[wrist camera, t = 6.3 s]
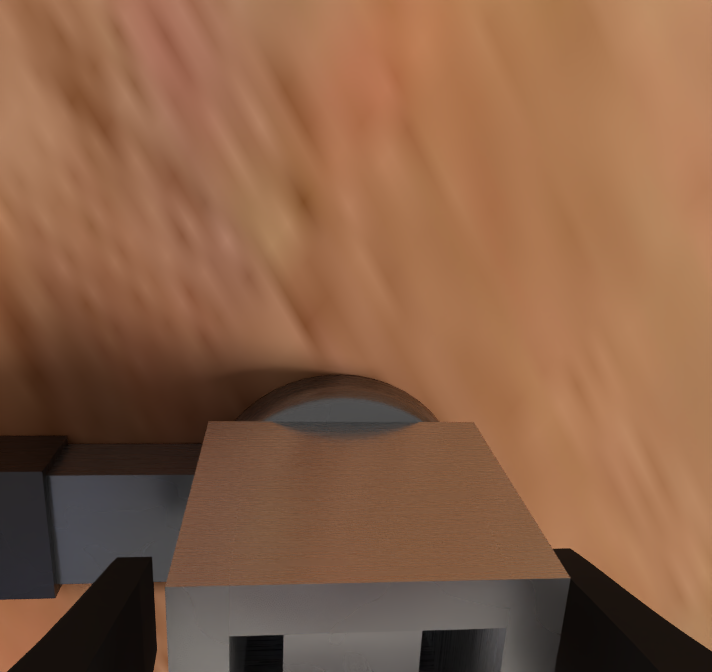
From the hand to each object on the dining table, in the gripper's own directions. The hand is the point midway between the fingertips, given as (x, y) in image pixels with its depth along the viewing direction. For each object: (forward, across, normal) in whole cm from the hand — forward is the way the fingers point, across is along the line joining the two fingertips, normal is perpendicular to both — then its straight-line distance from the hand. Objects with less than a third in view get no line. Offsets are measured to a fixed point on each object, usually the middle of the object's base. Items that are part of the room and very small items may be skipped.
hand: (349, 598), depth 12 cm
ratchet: (+4, +4, 0) cm, 5 cm away
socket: (+2, 0, 0) cm, 2 cm away
